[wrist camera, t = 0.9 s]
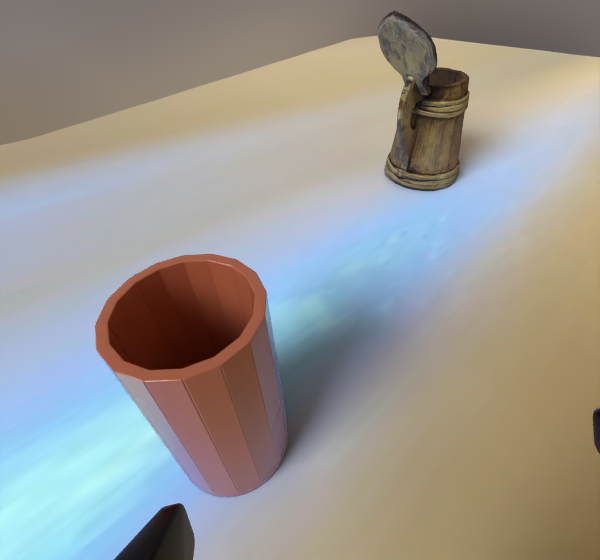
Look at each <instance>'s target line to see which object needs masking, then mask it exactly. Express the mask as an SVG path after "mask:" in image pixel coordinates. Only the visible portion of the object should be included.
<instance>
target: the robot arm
mask: <svg viewBox="0 0 600 560" xmlns="http://www.w3.org/2000/svg"><path fill="white" fill-rule="evenodd" d="M593 428H594V443H595V446H596V448H597V451H598V452H599V454H600V408H599V409H596V410H595V411H594V413H593ZM194 546H195V540H194V533H193V530H192V527H191V524H190V522H189V519H188V516H187V513H186V510H185V508H184V506H183V505H182V504H180V503H178V504H173V505H169V506H165V507H163V508H161V509H160V510H159V511H158V512H157V513H156V515H155V516H154V517H153V518H152V519H151V520H150V521H149V522H148V523H147V524H146V525H145V527H144V528H143V529H142V530H141V531H140V532H139V533H138V534H137V535H136V536H135V537H134V538H133V540H132V541H131V542H130V543H129V544H128V545H127V546H126V547H125V548H124V549H123V550H122V551H121V553H120V554H119V555H118V556H117V557H116V558H115V559H114V560H193V555H194Z"/></svg>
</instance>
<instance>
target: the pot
mask: <svg viewBox="0 0 600 560" xmlns="http://www.w3.org/2000/svg"><path fill="white" fill-rule="evenodd" d="M95 332H96V350H97V352H98V353H99V355H100V356H101V358H102V359H103V360H104V362H105V363H106V365H107V366H108V367H109V369H110V370H111V372H112V373H113V374H114V376H115V377H116V378H117V380H118V381H119V383H120V384H121V385H122V387H123V388H124V390H125V391H126V392H127V394H128V395H129V396H130V398H131V399H132V401H133V402H134V403H135V405H136V406H137V408H138V409H139V410H140V412H141V413H142V414H143V416H144V417H145V419H146V420H147V421H148V423H149V424H150V426H151V427H152V428H153V430H154V431H155V433H156V434H157V435H158V437H159V438H160V439H161V441H162V442H163V444H164V445H165V446H166V448H167V449H168V451H169V452H170V453H171V455H172V456H173V457H174V459H175V460H176V462H177V463H178V464H179V466H180V467H181V468H182V470H183V471H184V472H185V474H186V475H187V476H188V478H189V479H190V480H191V482H192V483H193V484H194V485H195V486H197V487H198V488H199V489H200V490H202V491H204V492H206V493H208V494H211V495H214V496H219V497H234V496H239V495H243V494H246V493H248V492H251V491H253V490H254V489H256V488H258V487H260V486H261V485H262V484H264V483H265V482H266V481H267V480H268V479H269V478H270V477H271V476H272V475H273V474H274V472H275V471H276V470H277V468H278V467H279V465H280V463H281V461H282V459H283V457H284V454H285V451H286V447H287V441H288V430H287V418H286V411H285V405H284V399H283V392H282V386H281V380H280V374H279V367H278V361H277V355H276V348H275V342H274V336H273V330H272V323H271V317H270V311H269V304H268V298H267V293H266V290H265V288H264V286H263V284H262V282H261V281H260V279H259V277H258V275H257V273H256V272H255V271H253V270H252V269H250V268H249V267H247V266H246V265H244V264H243V263H241V262H240V261H238V260H236V259H232V258H228V257H223V256H219V255H215V254H200V255H184V256H180V257H176V258H173V259H169V260H166V261H163V262H159V263H156V264H154V265H152V266H150V267H148V268H147V269H145V270H143V271H141V272H140V273H138V274H136V275H134V276H133V277H131V278H129V279H128V280H127V281H126V282H125V283H124V284H123V285H122V286H121V287H120V288H119V289H118V290H117V291H116V292H115V293H114V294H112V295H111V296H110V297H109V298H108V300H107V301H106V303H105V305H104V307H103V309H102V311H101V314H100V316H99V318H98V320H97V322H96V325H95Z"/></svg>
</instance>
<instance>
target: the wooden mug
mask: <svg viewBox="0 0 600 560" xmlns="http://www.w3.org/2000/svg"><path fill="white" fill-rule="evenodd" d="M378 38H379V43H380V47H381V50H382V52H383V54H384V56H385V58H386V59H387V61H388V62H389V63H390V64H391V65H392V66H393V68H394V69H395V70H397V71H398V72H399V73H400V74H401V75H402V77H403V80H404V83H405V85H404V87H403V90H402V94H401V98H400V102H399V108H398V115H397V130H396V134H395V138H394V141H393V145H392V149H391V152H390V153H389V155H388V157H387V161H386V165H385V169H384V171H385V175H386V176H387V177H388V178H389V179H390V180H392V181H393V182H395V183H396V184H399V185H401V186H403V187H406V188H410V189H415V190H437V189H441V188H445V187H447V186H450V185H451V184H452V183H454V181H455V179H456V177H457V175H458V172H459V165H460V162H459V159H458V157H459V149H460V141H461V134H462V126H463V119H464V113H465V110H466V109H467V107H468V100H469V93H470V92H469V91H468V83H469V77H468V75H467V74H465V73H464V72H462V71H457V70H452V69H449V68H436V66H437V53H436V48H435V45H434V43H433V41H432V39H431V37H430V36H429V35H428V34H427V32H425V30H423V29H422V28H421V27H420V26H419V25H418V24H416V23H415V22H414V21H412V20H411V19H410V18H408V17H407V16H405V15H403V14H401V13H399V12H397V11H393V12H391V13H389V14H388V15H387V16H386V17H385V18H383V20H382V21H381V22H380V25H379V27H378Z"/></svg>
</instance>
